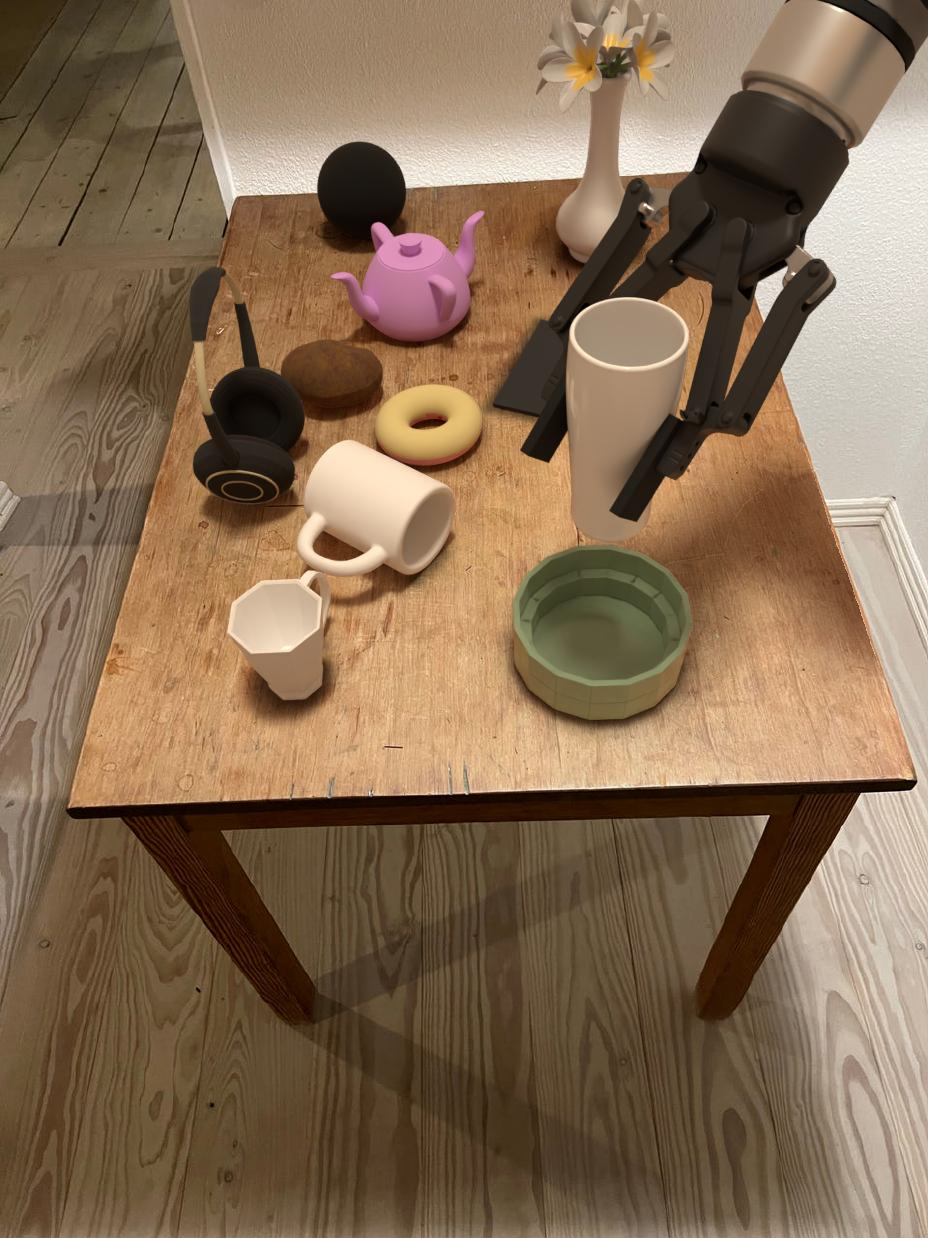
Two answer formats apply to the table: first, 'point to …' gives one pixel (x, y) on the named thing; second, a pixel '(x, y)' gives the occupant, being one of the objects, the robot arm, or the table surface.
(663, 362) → the drinking glass
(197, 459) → the headphones
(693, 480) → the table surface
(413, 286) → the teapot
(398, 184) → the decorative ball
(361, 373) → the potato
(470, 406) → the donut
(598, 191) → the flower vase
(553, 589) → the bowl
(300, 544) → the mug
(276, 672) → the cup
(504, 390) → the mat
